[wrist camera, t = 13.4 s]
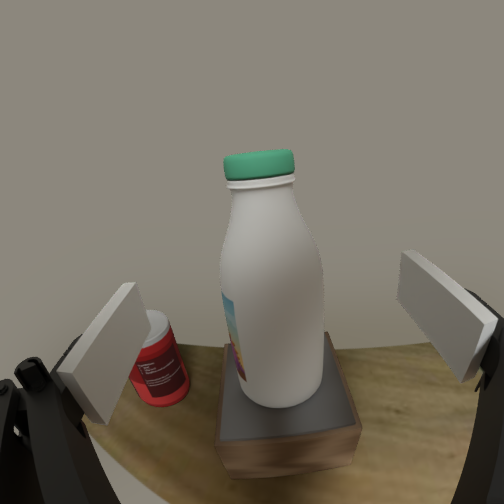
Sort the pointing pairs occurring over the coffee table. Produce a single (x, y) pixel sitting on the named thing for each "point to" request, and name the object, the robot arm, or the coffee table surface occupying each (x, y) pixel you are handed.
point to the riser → (286, 426)
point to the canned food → (159, 365)
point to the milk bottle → (271, 282)
